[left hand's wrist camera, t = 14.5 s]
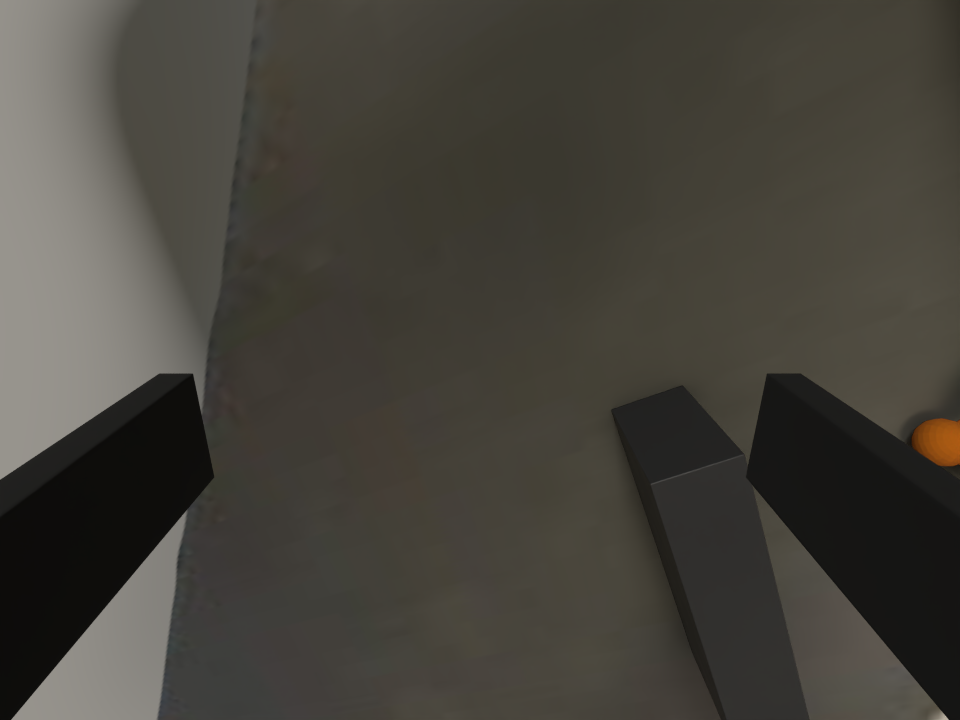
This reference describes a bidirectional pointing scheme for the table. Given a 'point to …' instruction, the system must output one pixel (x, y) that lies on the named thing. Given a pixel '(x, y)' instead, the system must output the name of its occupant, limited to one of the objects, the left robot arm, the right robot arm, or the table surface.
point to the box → (713, 554)
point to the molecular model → (938, 441)
